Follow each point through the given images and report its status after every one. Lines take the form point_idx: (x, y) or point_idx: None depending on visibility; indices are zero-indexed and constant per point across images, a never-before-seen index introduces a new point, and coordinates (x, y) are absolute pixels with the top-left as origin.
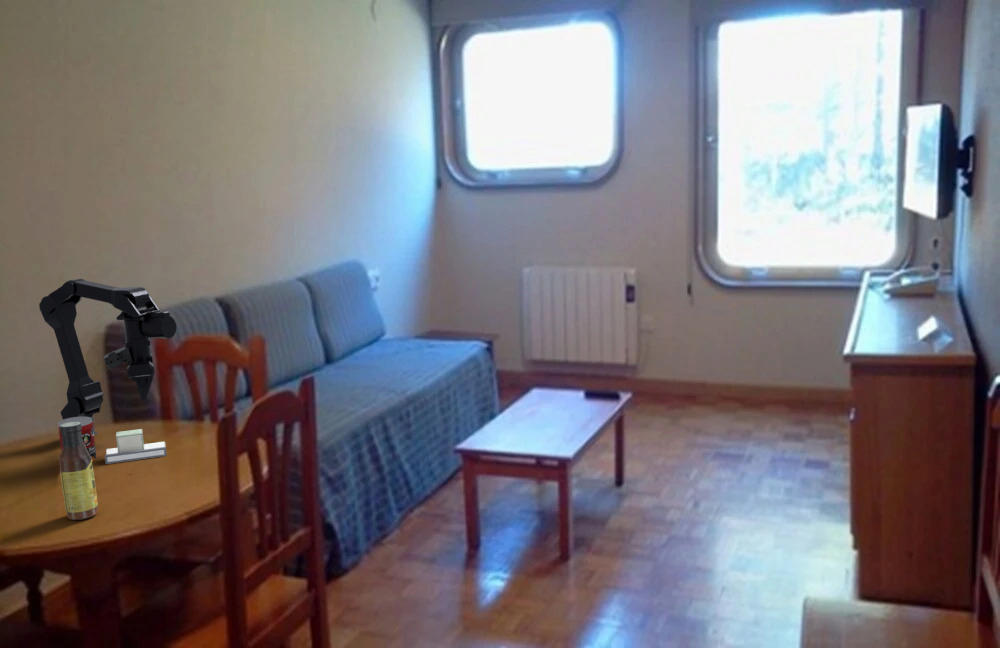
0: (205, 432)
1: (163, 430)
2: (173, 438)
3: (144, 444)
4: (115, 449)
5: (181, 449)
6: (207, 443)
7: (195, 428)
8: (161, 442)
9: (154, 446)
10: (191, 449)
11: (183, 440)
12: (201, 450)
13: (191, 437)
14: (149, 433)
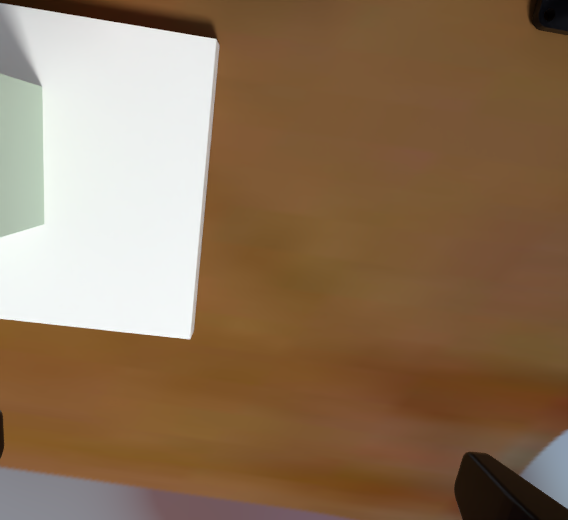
0: (299, 500)
1: (459, 362)
2: (289, 379)
3: (190, 245)
4: (177, 87)
5: (81, 381)
6: (120, 481)
7: (391, 478)
8: (180, 323)
9: (122, 283)
10: (59, 415)
11: (227, 409)
12: (21, 446)
13: (256, 444)
14: (453, 299)
